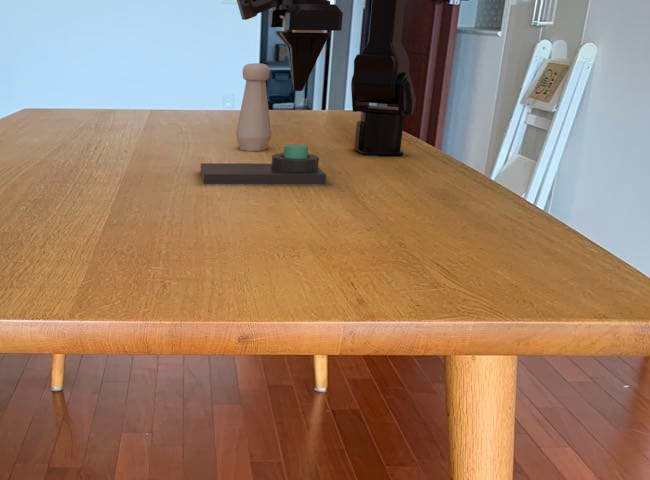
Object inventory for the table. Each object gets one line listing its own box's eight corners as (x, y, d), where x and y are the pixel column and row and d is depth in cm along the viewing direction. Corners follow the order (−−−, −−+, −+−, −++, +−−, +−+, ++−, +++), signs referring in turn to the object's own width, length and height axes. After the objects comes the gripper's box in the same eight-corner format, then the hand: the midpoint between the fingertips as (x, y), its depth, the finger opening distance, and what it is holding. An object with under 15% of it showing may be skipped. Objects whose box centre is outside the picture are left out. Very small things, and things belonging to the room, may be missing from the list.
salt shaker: (271, 152, 130) (276, 64, 125) (236, 151, 130) (238, 64, 125) (269, 146, 136) (273, 62, 130) (234, 146, 136) (237, 62, 130)
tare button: (304, 157, 110) (305, 143, 109) (309, 161, 107) (310, 147, 106) (281, 157, 110) (282, 143, 109) (285, 161, 107) (286, 147, 106)
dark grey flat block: (313, 173, 113) (315, 151, 112) (325, 184, 106) (327, 161, 105) (200, 173, 113) (200, 151, 111) (204, 184, 106) (204, 161, 104)
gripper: (233, -43, 106) (229, 84, 113) (250, -53, 90) (244, 97, 96) (317, -42, 107) (308, 85, 114) (349, -51, 90) (336, 98, 97)
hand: (297, 90), depth 105 cm, fingers closed
